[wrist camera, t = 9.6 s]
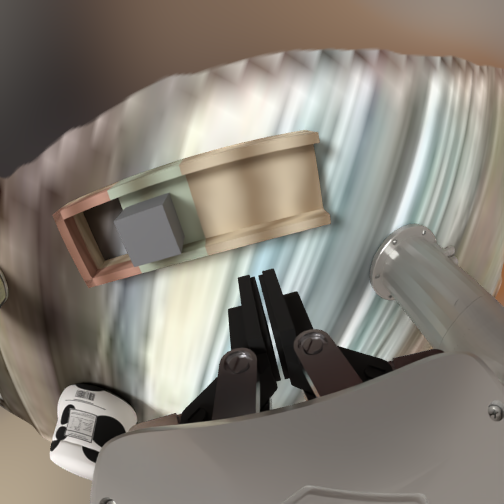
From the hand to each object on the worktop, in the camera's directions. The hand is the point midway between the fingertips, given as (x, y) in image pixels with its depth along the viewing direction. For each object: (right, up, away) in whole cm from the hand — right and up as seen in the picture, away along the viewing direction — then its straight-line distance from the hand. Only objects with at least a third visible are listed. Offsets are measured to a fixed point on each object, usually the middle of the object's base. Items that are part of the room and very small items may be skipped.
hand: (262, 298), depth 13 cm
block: (-10, +5, +15) cm, 19 cm away
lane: (-7, +7, +16) cm, 19 cm away
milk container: (-32, -29, +32) cm, 54 cm away
